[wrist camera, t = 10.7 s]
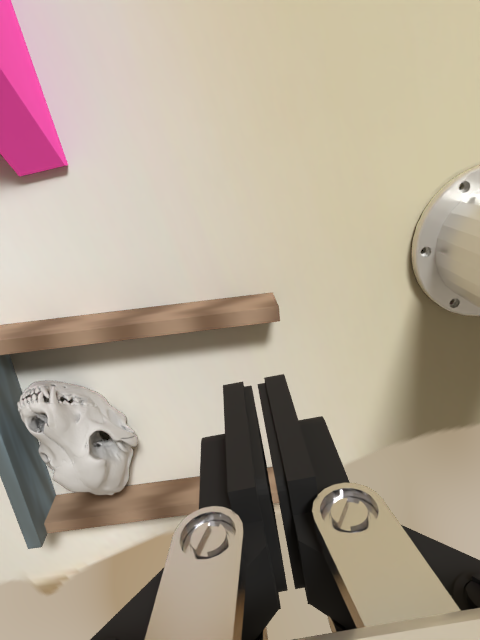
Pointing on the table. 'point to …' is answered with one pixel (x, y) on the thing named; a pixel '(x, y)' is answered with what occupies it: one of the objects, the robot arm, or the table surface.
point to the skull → (79, 436)
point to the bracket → (23, 105)
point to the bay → (23, 448)
